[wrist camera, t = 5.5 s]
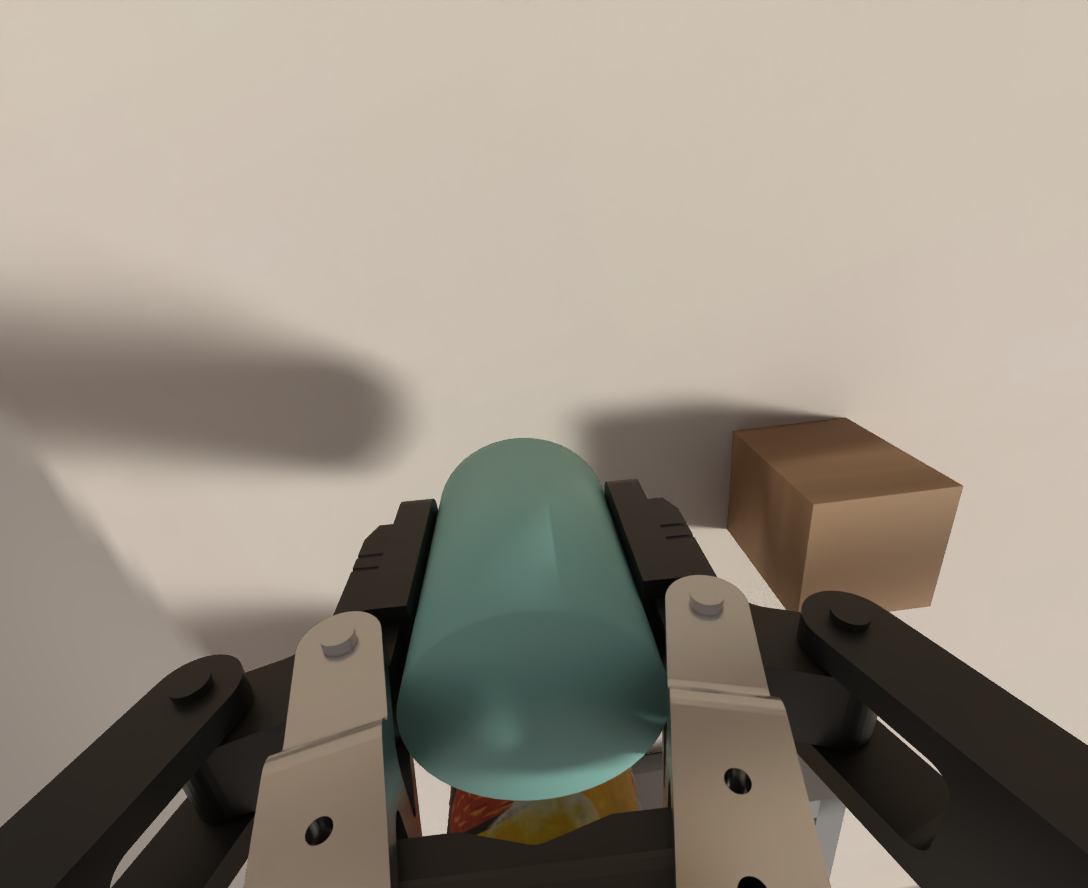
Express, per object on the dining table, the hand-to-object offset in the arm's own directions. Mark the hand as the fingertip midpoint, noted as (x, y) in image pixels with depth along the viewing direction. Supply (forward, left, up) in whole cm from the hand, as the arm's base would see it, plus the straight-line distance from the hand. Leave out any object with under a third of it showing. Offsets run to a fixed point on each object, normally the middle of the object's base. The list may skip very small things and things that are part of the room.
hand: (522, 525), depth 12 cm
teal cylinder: (0, 0, -1) cm, 1 cm away
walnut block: (+3, +9, -6) cm, 11 cm away
